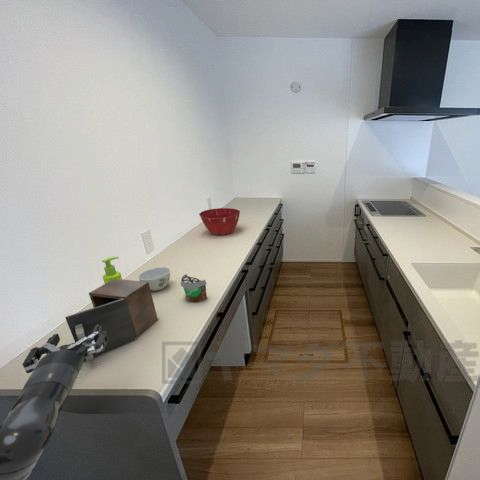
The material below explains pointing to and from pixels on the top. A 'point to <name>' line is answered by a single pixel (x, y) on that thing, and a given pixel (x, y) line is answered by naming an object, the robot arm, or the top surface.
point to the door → (103, 325)
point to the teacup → (156, 278)
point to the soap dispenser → (110, 270)
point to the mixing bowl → (220, 220)
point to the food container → (194, 288)
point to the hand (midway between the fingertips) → (78, 331)
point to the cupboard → (129, 301)
